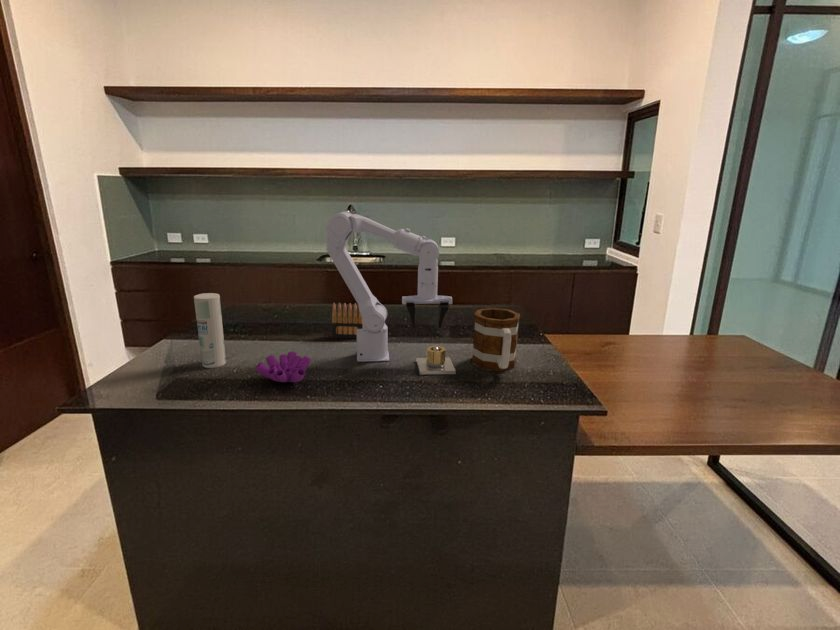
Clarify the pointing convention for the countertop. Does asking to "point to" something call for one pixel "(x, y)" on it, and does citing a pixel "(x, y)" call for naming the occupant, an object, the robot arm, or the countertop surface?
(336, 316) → the ammunition clip
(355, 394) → the countertop surface
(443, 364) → the piston stand
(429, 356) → the brass ring
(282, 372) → the purple tube coral
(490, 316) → the mug
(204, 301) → the spray can
